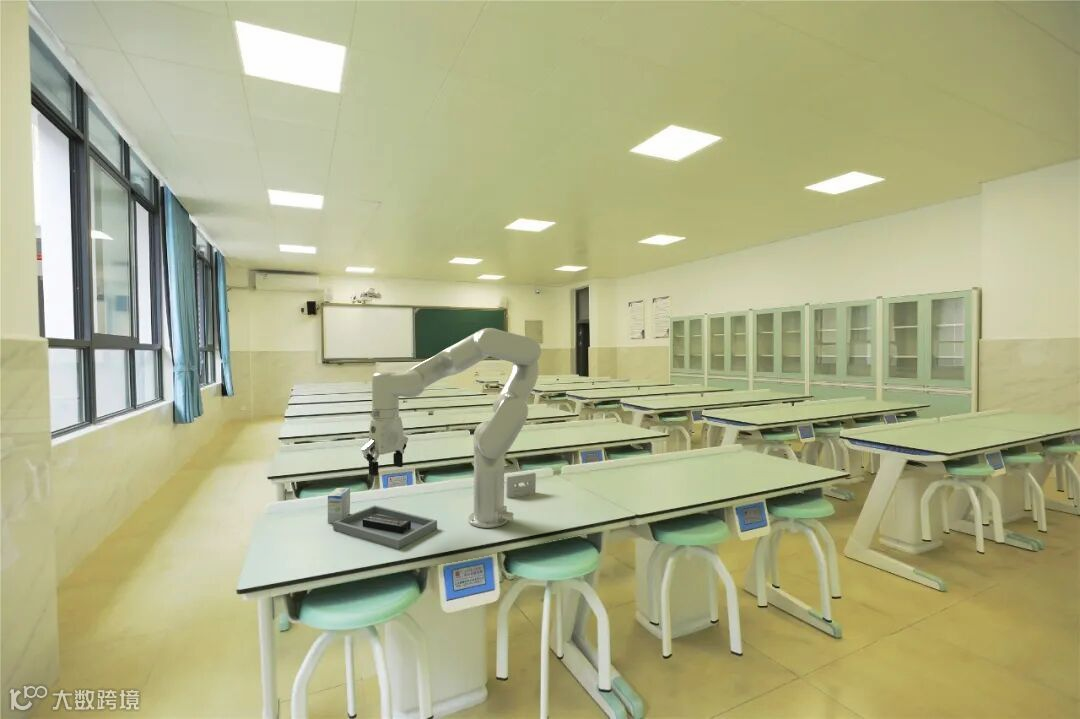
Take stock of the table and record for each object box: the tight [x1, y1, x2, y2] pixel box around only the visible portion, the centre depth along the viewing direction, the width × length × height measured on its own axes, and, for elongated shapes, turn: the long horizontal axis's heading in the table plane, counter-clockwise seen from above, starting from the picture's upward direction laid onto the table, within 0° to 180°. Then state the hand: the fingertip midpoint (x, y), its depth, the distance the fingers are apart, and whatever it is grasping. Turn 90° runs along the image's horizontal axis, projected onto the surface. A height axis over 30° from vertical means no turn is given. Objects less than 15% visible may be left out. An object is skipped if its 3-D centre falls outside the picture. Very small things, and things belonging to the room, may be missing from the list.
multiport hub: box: [363, 514, 411, 534], centre depth 140 cm, size 4×14×2 cm, turn 70°
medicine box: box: [327, 487, 351, 524], centre depth 148 cm, size 8×4×9 cm, turn 5°
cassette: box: [505, 472, 537, 499], centre depth 173 cm, size 12×2×8 cm, turn 121°
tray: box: [332, 504, 438, 551], centre depth 140 cm, size 26×16×2 cm, turn 63°
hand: (386, 470), depth 139 cm, fingers open, 9 cm apart
